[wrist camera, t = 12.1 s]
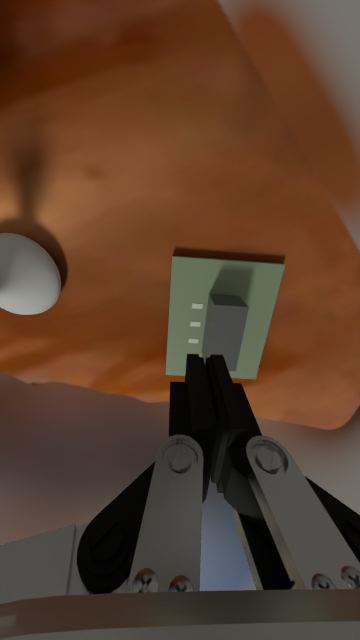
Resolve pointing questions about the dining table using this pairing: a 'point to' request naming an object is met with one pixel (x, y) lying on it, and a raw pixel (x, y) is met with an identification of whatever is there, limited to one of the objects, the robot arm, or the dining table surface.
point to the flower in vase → (26, 276)
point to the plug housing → (224, 328)
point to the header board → (192, 299)
